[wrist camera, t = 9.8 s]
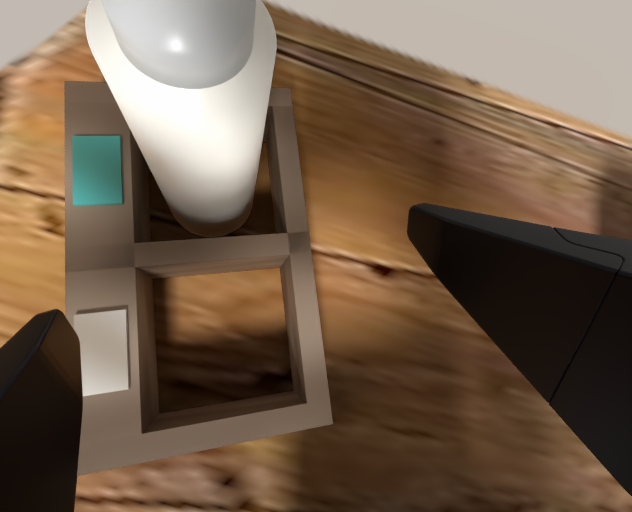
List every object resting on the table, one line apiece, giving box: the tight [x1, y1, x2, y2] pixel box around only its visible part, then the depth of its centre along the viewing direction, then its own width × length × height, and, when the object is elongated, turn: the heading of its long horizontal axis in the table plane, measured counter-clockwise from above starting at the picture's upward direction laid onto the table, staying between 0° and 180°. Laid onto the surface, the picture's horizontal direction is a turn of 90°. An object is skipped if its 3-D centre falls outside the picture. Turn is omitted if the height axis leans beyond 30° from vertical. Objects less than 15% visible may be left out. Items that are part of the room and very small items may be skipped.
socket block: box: [65, 81, 333, 476], centre depth 17 cm, size 16×10×4 cm, turn 7°
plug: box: [85, 0, 277, 237], centre depth 14 cm, size 4×4×12 cm
